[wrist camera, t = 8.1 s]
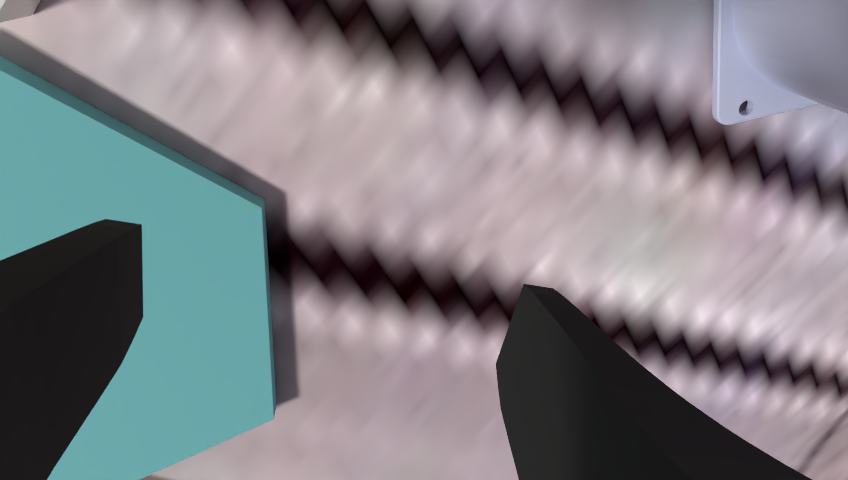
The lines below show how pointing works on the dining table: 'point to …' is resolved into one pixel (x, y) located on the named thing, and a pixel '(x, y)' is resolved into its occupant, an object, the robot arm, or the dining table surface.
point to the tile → (17, 9)
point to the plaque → (147, 277)
